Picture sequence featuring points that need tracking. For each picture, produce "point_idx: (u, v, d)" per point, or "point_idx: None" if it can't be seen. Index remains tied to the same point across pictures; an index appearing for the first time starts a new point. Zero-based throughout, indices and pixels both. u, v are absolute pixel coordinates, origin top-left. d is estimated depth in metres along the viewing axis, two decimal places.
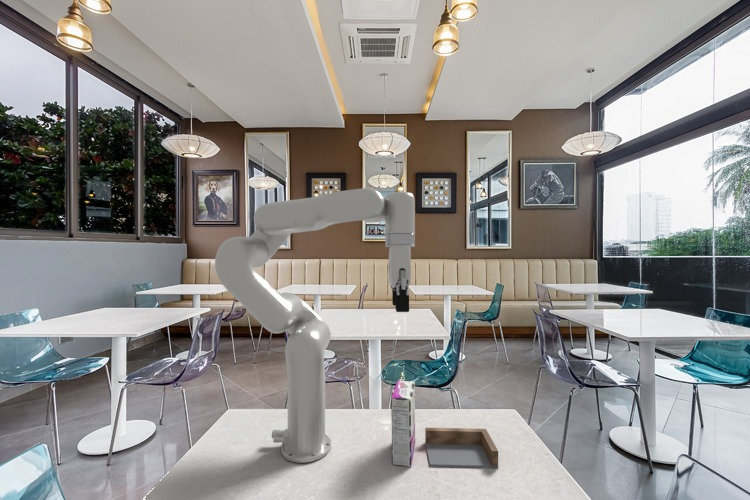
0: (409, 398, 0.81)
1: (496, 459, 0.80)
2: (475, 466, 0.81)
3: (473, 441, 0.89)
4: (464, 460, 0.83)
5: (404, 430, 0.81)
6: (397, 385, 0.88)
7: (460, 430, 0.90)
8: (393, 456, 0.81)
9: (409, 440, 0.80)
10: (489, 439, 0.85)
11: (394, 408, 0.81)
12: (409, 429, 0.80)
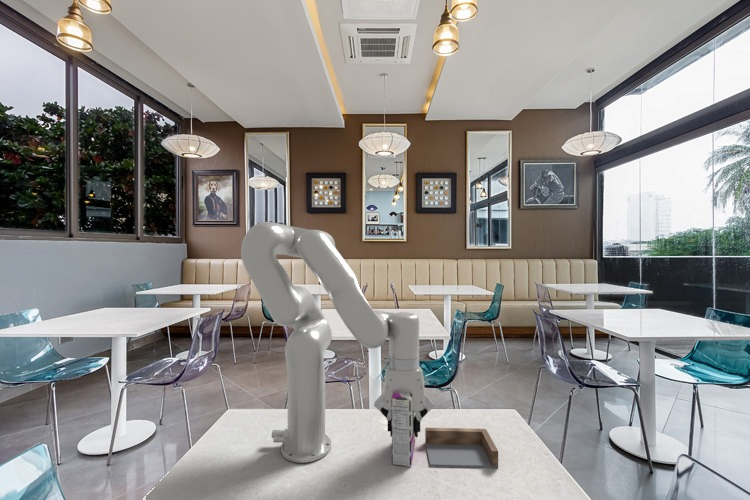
0: (409, 398, 0.81)
1: (496, 459, 0.80)
2: (475, 466, 0.81)
3: (473, 441, 0.89)
4: (464, 460, 0.83)
5: (404, 430, 0.81)
6: None
7: (460, 430, 0.90)
8: (393, 456, 0.81)
9: (409, 440, 0.80)
10: (489, 439, 0.85)
11: (394, 408, 0.81)
12: (409, 429, 0.80)
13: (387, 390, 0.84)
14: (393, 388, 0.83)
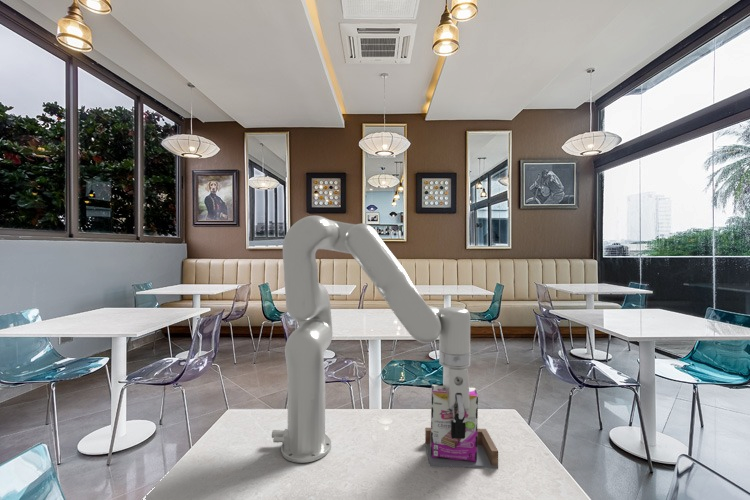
0: (473, 388, 0.85)
1: (496, 459, 0.80)
2: (475, 466, 0.81)
3: None
4: None
5: None
6: None
7: None
8: (476, 452, 0.82)
9: None
10: (489, 439, 0.85)
11: (477, 404, 0.82)
12: None
13: None
14: None
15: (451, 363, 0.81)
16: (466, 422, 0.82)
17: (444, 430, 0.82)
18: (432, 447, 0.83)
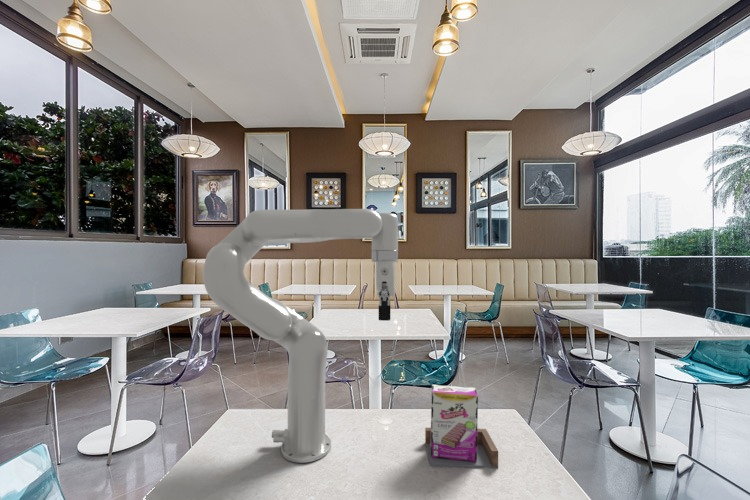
0: (473, 388, 0.86)
1: (496, 459, 0.80)
2: (475, 466, 0.81)
3: None
4: None
5: None
6: (446, 392, 0.83)
7: None
8: (476, 452, 0.82)
9: None
10: (489, 439, 0.85)
11: (477, 404, 0.82)
12: None
13: (394, 279, 0.93)
14: (394, 276, 0.94)
15: (379, 257, 0.94)
16: (466, 422, 0.82)
17: (444, 429, 0.82)
18: (432, 447, 0.83)
